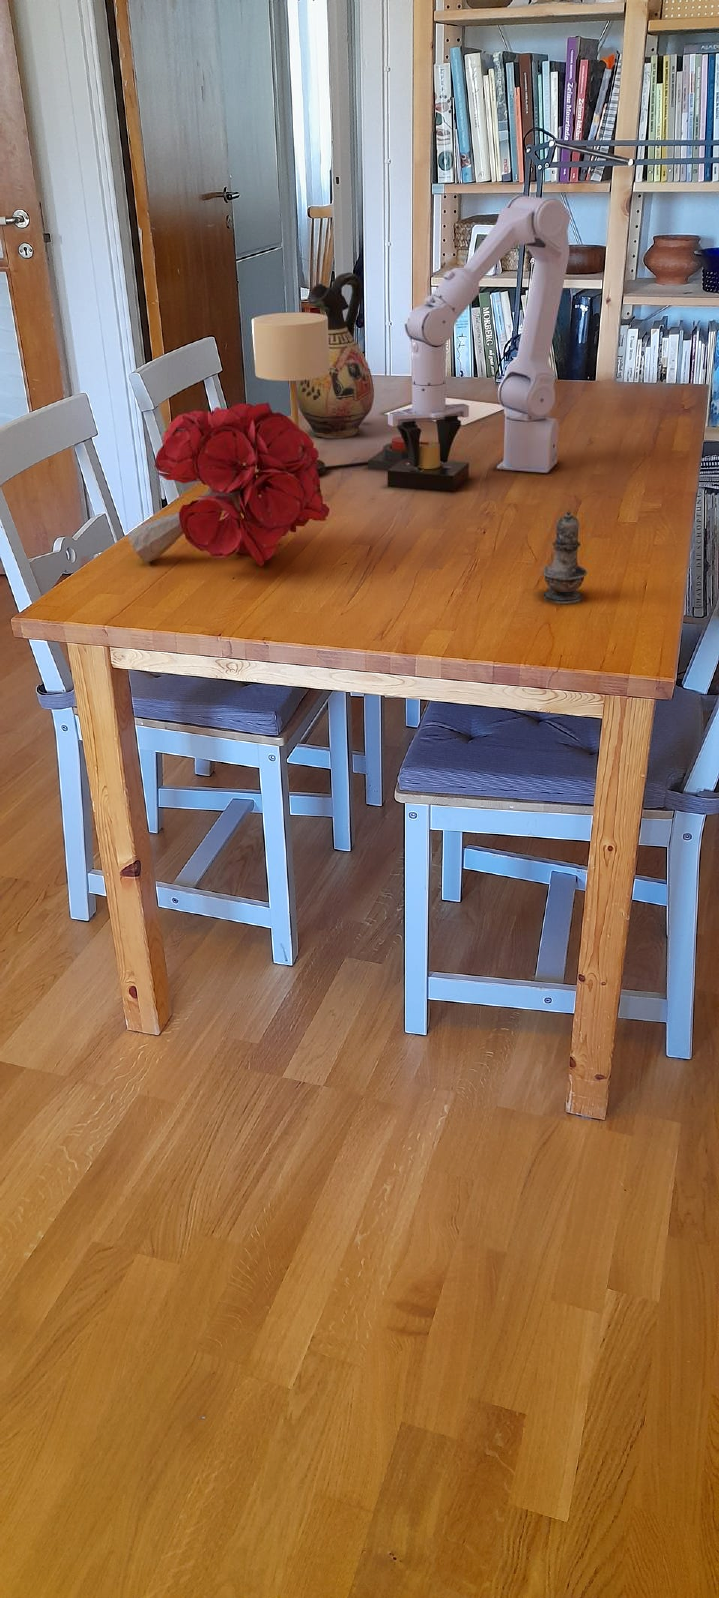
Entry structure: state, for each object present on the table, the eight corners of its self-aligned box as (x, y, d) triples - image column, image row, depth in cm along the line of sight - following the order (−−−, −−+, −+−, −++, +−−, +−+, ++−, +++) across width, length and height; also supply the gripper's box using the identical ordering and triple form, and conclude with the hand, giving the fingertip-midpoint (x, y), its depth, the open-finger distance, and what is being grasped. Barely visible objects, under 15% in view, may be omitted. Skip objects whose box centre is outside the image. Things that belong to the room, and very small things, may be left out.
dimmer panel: (468, 479, 212) (469, 461, 210) (453, 493, 205) (453, 474, 203) (404, 473, 216) (404, 456, 214) (387, 487, 209) (387, 469, 207)
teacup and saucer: (431, 404, 263) (431, 385, 261) (462, 408, 259) (462, 389, 256) (409, 412, 257) (409, 393, 255) (440, 417, 252) (440, 397, 250)
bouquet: (168, 634, 171) (347, 528, 163) (68, 491, 162) (252, 372, 155) (193, 590, 190) (354, 493, 182) (105, 460, 182) (270, 353, 174)
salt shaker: (536, 590, 164) (541, 503, 158) (579, 587, 164) (585, 501, 158) (546, 605, 159) (551, 517, 153) (589, 603, 159) (596, 515, 153)
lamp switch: (419, 446, 220) (419, 436, 219) (411, 452, 216) (411, 442, 215) (396, 444, 221) (396, 435, 220) (388, 450, 218) (388, 441, 217)
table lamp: (376, 463, 222) (373, 311, 209) (342, 487, 209) (337, 327, 196) (288, 456, 228) (280, 308, 215) (250, 479, 215) (238, 323, 202)
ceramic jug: (332, 447, 233) (326, 281, 218) (283, 433, 244) (274, 274, 228) (396, 431, 243) (395, 271, 228) (346, 419, 253) (342, 265, 238)
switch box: (438, 462, 222) (439, 443, 220) (425, 473, 215) (425, 454, 214) (383, 458, 225) (383, 439, 224) (368, 469, 219) (367, 449, 217)
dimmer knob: (442, 463, 210) (443, 440, 208) (435, 469, 206) (435, 445, 204) (421, 462, 211) (421, 438, 209) (413, 467, 208) (413, 444, 206)
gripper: (399, 391, 196) (400, 474, 203) (478, 381, 201) (476, 463, 208) (382, 383, 202) (383, 464, 208) (458, 374, 206) (457, 453, 213)
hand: (428, 463), depth 208 cm, fingers open, 5 cm apart
